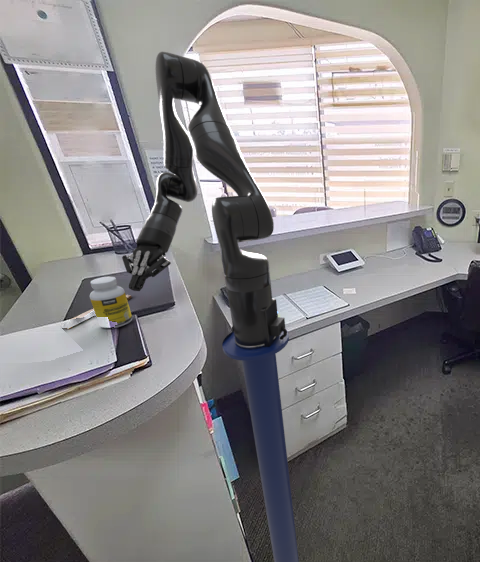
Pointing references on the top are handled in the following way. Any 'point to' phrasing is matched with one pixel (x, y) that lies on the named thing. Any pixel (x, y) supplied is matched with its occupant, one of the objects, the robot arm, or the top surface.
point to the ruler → (93, 309)
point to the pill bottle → (110, 301)
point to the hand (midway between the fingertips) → (134, 289)
